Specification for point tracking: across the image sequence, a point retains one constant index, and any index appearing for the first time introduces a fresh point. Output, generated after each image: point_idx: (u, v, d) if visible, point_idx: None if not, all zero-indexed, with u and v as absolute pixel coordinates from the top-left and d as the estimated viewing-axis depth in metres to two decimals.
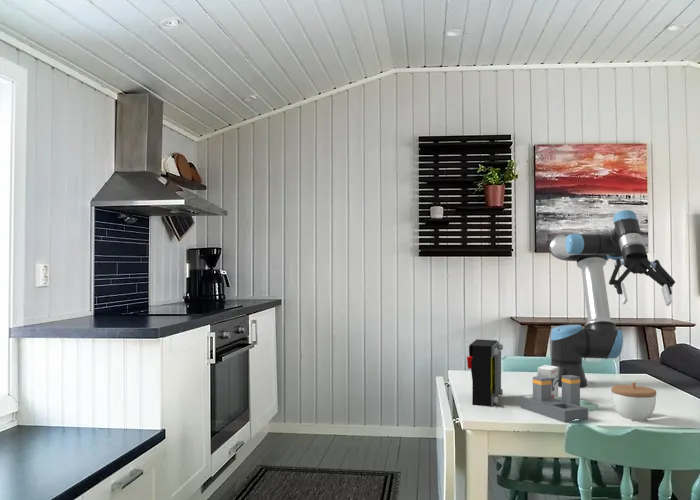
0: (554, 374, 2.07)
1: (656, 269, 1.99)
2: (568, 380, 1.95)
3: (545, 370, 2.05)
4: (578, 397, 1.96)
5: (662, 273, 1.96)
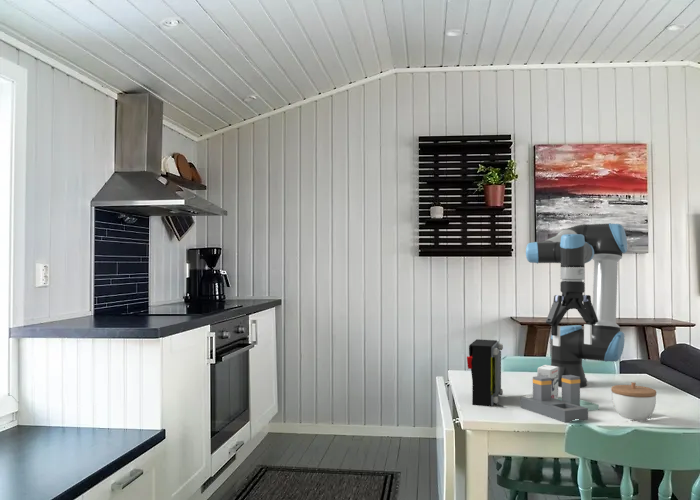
0: (554, 374, 2.07)
1: (585, 303, 2.00)
2: (568, 380, 1.95)
3: (545, 370, 2.05)
4: (578, 397, 1.96)
5: (590, 310, 2.00)
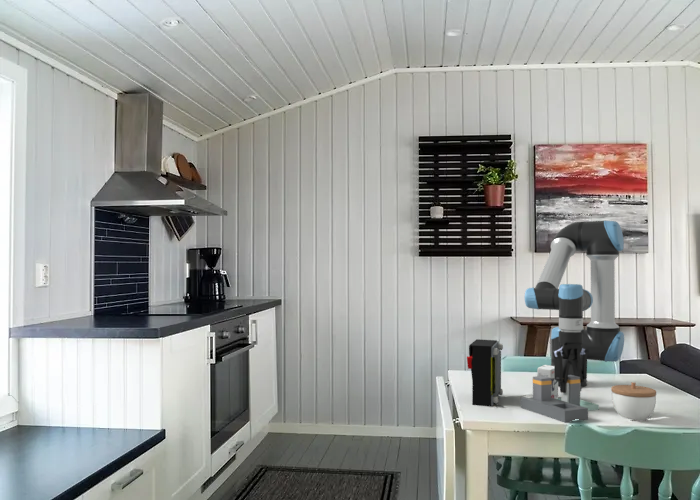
0: (554, 374, 2.07)
1: (581, 357, 2.00)
2: (568, 380, 1.95)
3: (545, 370, 2.05)
4: (578, 397, 1.96)
5: (583, 364, 1.99)
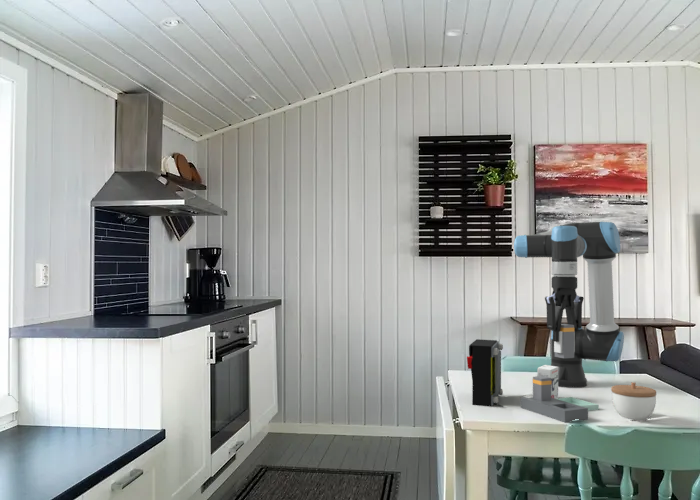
0: (554, 374, 2.07)
1: (575, 304, 1.86)
2: (561, 328, 1.82)
3: (545, 370, 2.05)
4: (572, 346, 1.82)
5: (577, 312, 1.85)
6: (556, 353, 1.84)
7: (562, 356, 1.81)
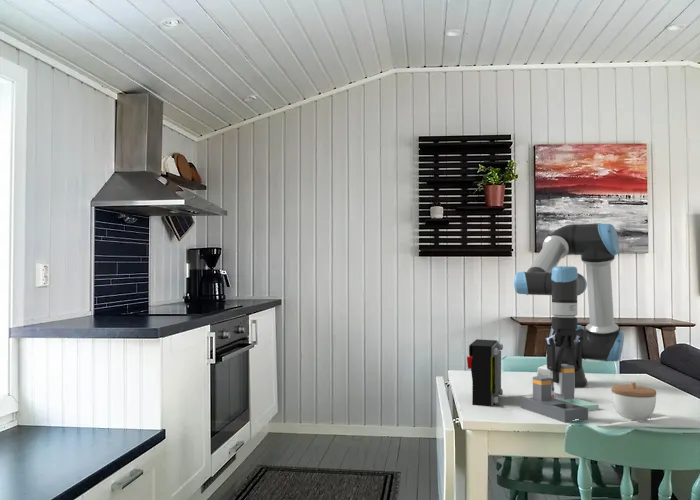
0: None
1: (575, 344, 1.86)
2: (562, 369, 1.82)
3: (545, 370, 2.05)
4: (572, 387, 1.82)
5: (577, 353, 1.85)
6: (556, 394, 1.83)
7: (562, 397, 1.81)
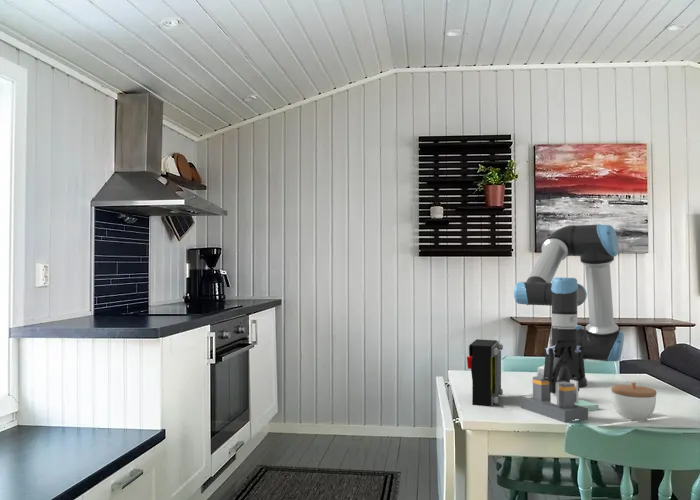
0: None
1: (576, 354, 1.86)
2: (562, 387, 1.81)
3: None
4: (572, 406, 1.82)
5: (579, 363, 1.85)
6: None
7: None
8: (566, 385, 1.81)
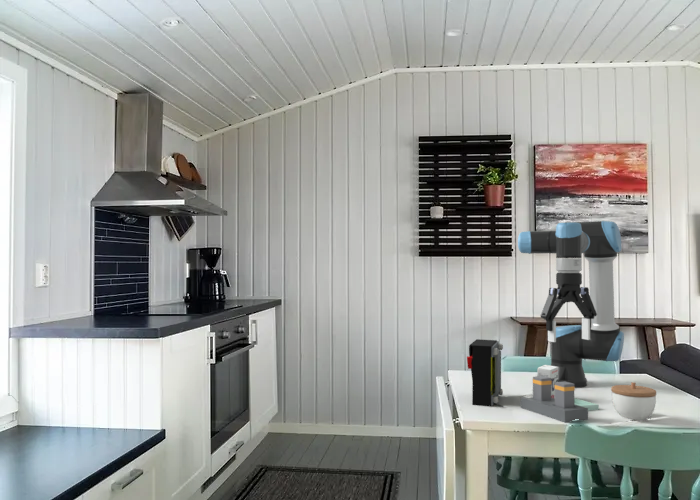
0: (554, 374, 2.07)
1: (583, 296, 1.88)
2: (562, 387, 1.81)
3: (545, 370, 2.05)
4: (572, 406, 1.82)
5: (588, 303, 1.88)
6: None
7: None
8: (566, 385, 1.81)
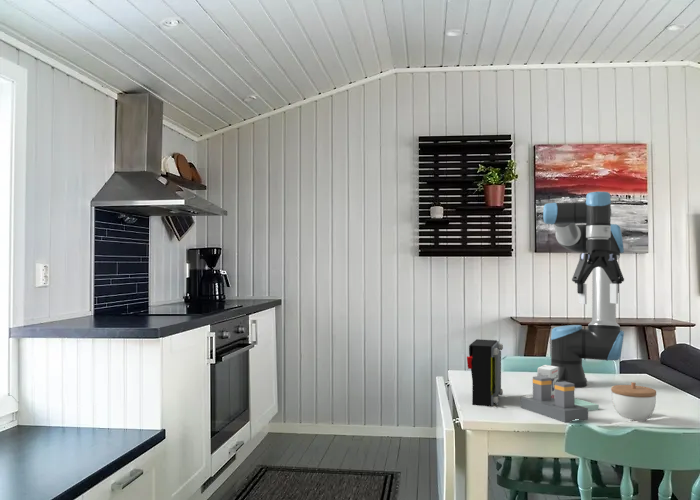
0: (554, 374, 2.07)
1: (611, 262, 1.99)
2: (562, 387, 1.81)
3: (545, 370, 2.05)
4: (572, 406, 1.82)
5: (616, 269, 1.99)
6: None
7: None
8: (566, 385, 1.81)
